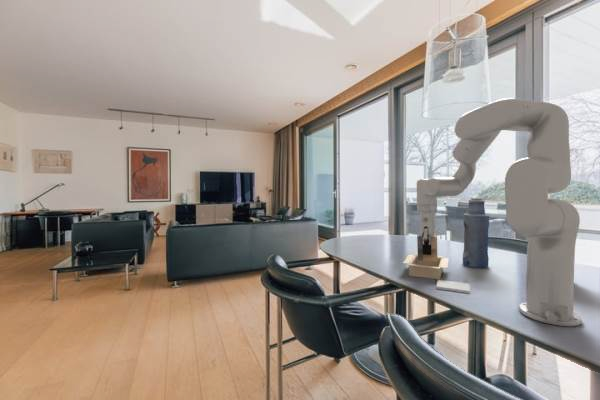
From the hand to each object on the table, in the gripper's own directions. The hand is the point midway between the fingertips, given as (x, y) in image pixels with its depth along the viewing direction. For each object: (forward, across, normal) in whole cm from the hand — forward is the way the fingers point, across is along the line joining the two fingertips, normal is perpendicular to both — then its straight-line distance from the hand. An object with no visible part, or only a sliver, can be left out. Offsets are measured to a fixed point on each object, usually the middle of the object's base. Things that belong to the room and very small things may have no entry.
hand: (427, 252), depth 116 cm
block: (+3, 0, 0) cm, 3 cm away
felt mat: (+9, -14, -9) cm, 19 cm away
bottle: (+8, +20, -17) cm, 28 cm away
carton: (+8, 0, +1) cm, 8 cm away
